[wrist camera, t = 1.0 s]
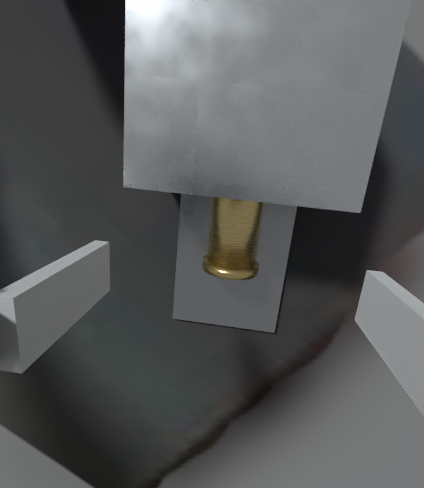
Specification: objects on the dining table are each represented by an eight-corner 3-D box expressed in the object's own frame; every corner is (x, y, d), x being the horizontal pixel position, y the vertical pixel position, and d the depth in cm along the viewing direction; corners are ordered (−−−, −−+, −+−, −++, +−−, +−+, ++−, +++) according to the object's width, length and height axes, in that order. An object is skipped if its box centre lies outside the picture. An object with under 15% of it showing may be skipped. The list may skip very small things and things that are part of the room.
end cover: (205, 256, 32) (198, 275, 26) (218, 121, 28) (212, 111, 23) (256, 263, 31) (259, 283, 26) (276, 126, 28) (285, 117, 22)
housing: (157, 313, 35) (121, 378, 24) (170, 49, 27) (125, -23, 17) (291, 332, 34) (313, 408, 23) (344, 62, 26) (413, -7, 16)
